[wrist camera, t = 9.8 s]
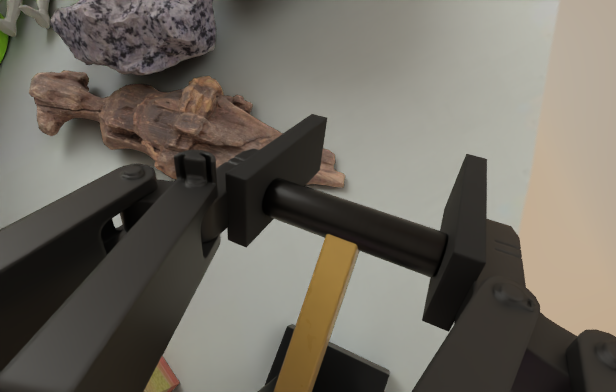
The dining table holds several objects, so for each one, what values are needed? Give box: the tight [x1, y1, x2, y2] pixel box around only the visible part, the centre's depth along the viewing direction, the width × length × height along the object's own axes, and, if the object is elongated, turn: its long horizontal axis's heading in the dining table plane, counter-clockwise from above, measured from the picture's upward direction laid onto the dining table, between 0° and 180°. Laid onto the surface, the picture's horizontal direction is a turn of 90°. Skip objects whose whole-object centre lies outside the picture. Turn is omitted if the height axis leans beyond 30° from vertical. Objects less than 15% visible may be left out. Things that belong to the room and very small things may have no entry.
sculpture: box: [29, 71, 345, 188], centre depth 28 cm, size 10×30×4 cm, turn 69°
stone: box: [50, 0, 216, 75], centre depth 28 cm, size 13×7×10 cm
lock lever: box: [262, 178, 448, 392], centre depth 11 cm, size 13×6×2 cm, turn 158°
